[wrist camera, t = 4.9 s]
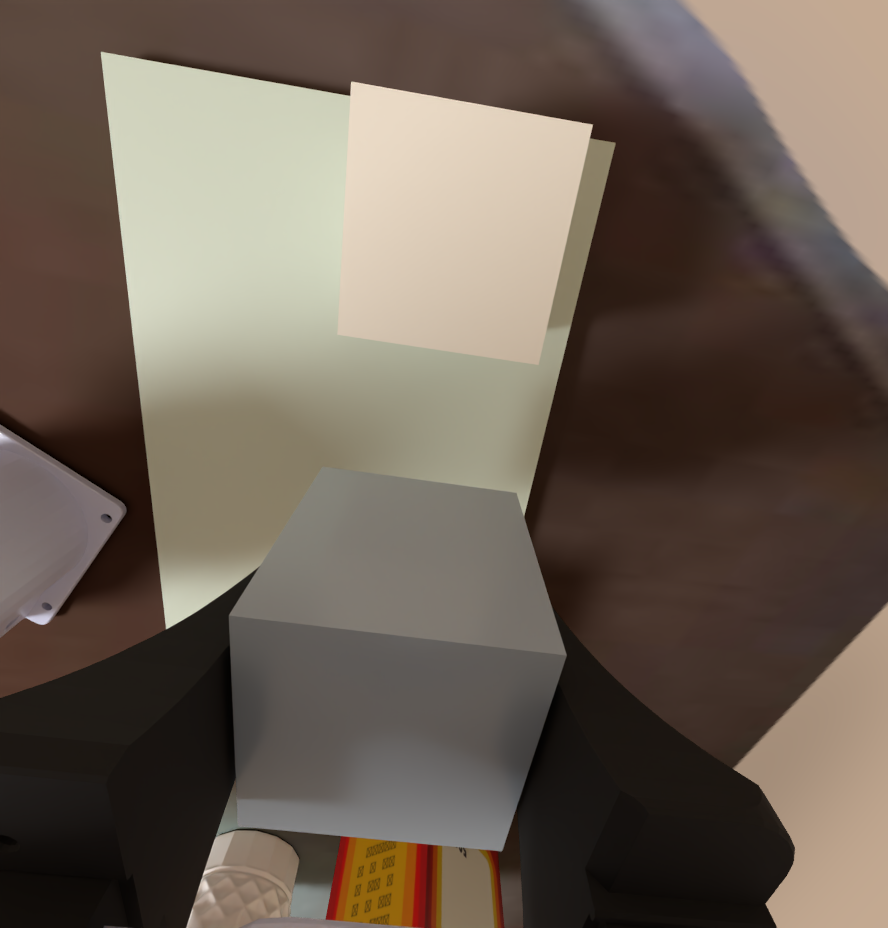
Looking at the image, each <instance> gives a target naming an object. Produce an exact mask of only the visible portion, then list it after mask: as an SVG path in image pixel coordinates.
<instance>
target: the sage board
mask: <svg viewBox="0 0 888 928" xmlns="http://www.w3.org/2000/svg"><path fill="white" fill-rule="evenodd" d="M101 58H102V67H103V75H104V84H105V93H106V102H107V111H108V120H109V128H110V137H111V146H112V155H113V164H114V172H115V181H116V190H117V199H118V208H119V216H120V225H121V234H122V243H123V252H124V261H125V269H126V278H127V287H128V296H129V305H130V313H131V322H132V331H133V340H134V349H135V357H136V366H137V375H138V384H139V393H140V402H141V410H142V419H143V428H144V437H145V446H146V454H147V463H148V472H149V481H150V490H151V498H152V507H153V516H154V525H155V534H156V542H157V551H158V560H159V569H160V578H161V587H162V595H163V604H164V613H165V622H166V629H168V628H170V627H171V626H173V625H175V624H177V623H178V622H180V621H182V620H184V619H185V618H187V617H189V616H190V615H192V614H194V613H195V612H197V611H198V610H200V609H201V608H203V607H204V606H206V605H207V604H209V603H210V602H212V601H213V600H215V599H216V598H218V597H219V596H221V595H222V594H223V593H225V592H226V591H228V590H229V589H230V588H232V587H233V586H234V585H236V584H237V583H238V582H240V581H241V580H242V579H244V578H245V577H246V576H248V575H249V574H250V573H252V572H253V571H254V570H255V569H257V568H258V567H259V566H260V565H261V564H262V562H263V560H264V559H265V557H266V556H267V554H268V552H269V551H270V549H271V548H272V546H273V544H274V543H275V541H276V540H277V538H278V537H279V535H280V533H281V532H282V530H283V529H284V527H285V525H286V524H287V522H288V521H289V519H290V518H291V516H292V514H293V513H294V511H295V510H296V508H297V506H298V505H299V503H300V502H301V500H302V499H303V497H304V495H305V494H306V492H307V491H308V489H309V487H310V486H311V484H312V483H313V481H314V479H315V478H316V476H317V475H318V473H319V472H320V470H321V468H322V467H330V468H337V469H345V470H352V471H359V472H367V473H374V474H381V475H389V476H396V477H404V478H411V479H418V480H426V481H433V482H440V483H448V484H455V485H462V486H470V487H477V488H485V489H492V490H499V491H507V492H514V493H517V496H518V500H519V503H520V506H521V509H522V512H523V516H524V515H525V511H526V507H527V503H528V499H529V495H530V490H531V486H532V482H533V478H534V474H535V470H536V466H537V462H538V458H539V454H540V450H541V446H542V441H543V437H544V433H545V429H546V425H547V421H548V417H549V413H550V409H551V405H552V401H553V397H554V393H555V388H556V384H557V380H558V376H559V372H560V368H561V364H562V360H563V356H564V352H565V348H566V344H567V339H568V335H569V331H570V327H571V323H572V319H573V315H574V311H575V307H576V303H577V299H578V295H579V291H580V286H581V282H582V278H583V274H584V270H585V266H586V262H587V258H588V254H589V250H590V246H591V242H592V237H593V233H594V229H595V225H596V221H597V217H598V213H599V209H600V205H601V201H602V197H603V193H604V188H605V184H606V180H607V176H608V172H609V168H610V164H611V160H612V156H613V152H614V148H615V144H616V143H613V142H607V141H601V140H596V139H590V140H589V144H588V149H587V153H586V157H585V162H584V166H583V171H582V175H581V180H580V184H579V188H578V193H577V197H576V202H575V206H574V211H573V215H572V219H571V224H570V228H569V233H568V237H567V242H566V246H565V250H564V255H563V259H562V264H561V268H560V273H559V277H558V281H557V286H556V290H555V295H554V299H553V304H552V308H551V312H550V317H549V321H548V326H547V330H546V334H545V339H544V343H543V348H542V352H541V357H540V361H539V365H535V364H529V363H522V362H515V361H509V360H502V359H495V358H489V357H482V356H475V355H469V354H462V353H455V352H449V351H442V350H435V349H429V348H422V347H415V346H409V345H402V344H395V343H389V342H382V341H375V340H369V339H362V338H355V337H349V336H342V335H337V332H338V313H339V295H340V277H341V258H342V240H343V222H344V204H345V185H346V167H347V149H348V131H349V112H350V96H347V95H341V94H336V93H330V92H324V91H319V90H313V89H307V88H302V87H296V86H290V85H285V84H279V83H273V82H268V81H262V80H256V79H251V78H245V77H240V76H234V75H228V74H223V73H217V72H211V71H206V70H200V69H194V68H189V67H183V66H177V65H172V64H166V63H160V62H155V61H149V60H143V59H138V58H132V57H126V56H121V55H115V54H109V53H104V52H101Z"/></svg>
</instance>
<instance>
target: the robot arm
mask: <svg viewBox="0 0 888 928" xmlns="http://www.w3.org/2000/svg"><path fill="white" fill-rule="evenodd" d="M126 511H127V510H126V506H125V505H124V504H123V503H122V502H121V501H120V500H118V499H117V498H115V497H113V496H112V495H110V494H109V493H107V492H106V491H104V490H102V489H101V488H99V487H98V486H96V485H95V484H93V483H91V482H90V481H88V480H87V479H85V478H84V477H82V476H80V475H79V474H77V473H76V472H74V471H72V470H71V469H69V468H68V467H66V466H65V465H63V464H61V463H60V462H58V461H57V460H55V459H54V458H52V457H50V456H49V455H47V454H46V453H44V452H43V451H41V450H39V449H38V448H36V447H35V446H33V445H32V444H30V443H28V442H27V441H25V440H24V439H22V438H21V437H19V436H17V435H16V434H14V433H13V432H11V431H10V430H8V429H6V428H5V427H3V426H2V425H0V638H1V637H2V636H3V635H4V634H5V633H7V632H8V631H9V630H10V629H11V628H13V627H14V626H15V625H16V624H17V623H19V622H20V621H21V620H22V619H24V618H25V617H26V618H28V619H29V620H31V621H33V622H35V623H37V624H42V625H44V624H47V623H48V622H50V621H51V620H52V619H53V618H54V617H55V615H56V614H57V612H58V611H59V609H60V608H61V607H62V605H63V604H64V602H65V601H66V599H67V598H68V596H69V595H70V594H71V592H72V591H73V589H74V588H75V586H76V585H77V583H78V582H79V581H80V579H81V578H82V576H83V575H84V573H85V572H86V570H87V569H88V568H89V566H90V565H91V563H92V562H93V560H94V559H95V557H96V556H97V555H98V553H99V552H100V550H101V549H102V547H103V546H104V544H105V543H106V542H107V540H108V539H109V537H110V536H111V534H112V533H113V532H114V530H115V529H116V527H117V526H118V524H119V523H120V521H121V520H122V519H123V517H124V516H125V514H126ZM107 514H108V515H110V516H111V518H112V519H111V518H109V517H108V516H107ZM259 567H260V566H259ZM259 567H258V568H259ZM258 568H257V569H255V570H254V571H253V572H252V573H250V574H249V575H248V576H246V577H245V578H244V579H242V580H241V581H240V582H238V583H237V584H236V585H234V586H233V587H232V588H230V589H229V590H228V591H226V592H225V593H223V594H222V595H221V596H219V597H218V598H216V599H215V600H213V601H212V602H210V603H209V604H207V605H206V606H204V607H203V608H201V609H200V610H198V611H197V612H195V613H194V614H192V615H190V616H189V617H187V618H185V619H184V620H182V621H180V622H178V623H177V624H175V625H173V626H171V627H170V628H168V629H166V630H164V631H162V632H161V633H159V634H157V635H155V636H153V637H151V638H149V639H147V640H145V641H143V642H141V643H138V644H136V645H134V646H132V647H130V648H128V649H126V650H124V651H122V652H120V653H118V654H116V655H114V656H111V657H109V658H107V659H104V660H102V661H100V662H97V663H95V664H93V665H90V666H88V667H86V668H83V669H81V670H78V671H75V672H73V673H70V674H68V675H65V676H63V677H60V678H58V679H55V680H52V681H49V682H47V683H44V684H41V685H38V686H35V687H32V688H29V689H26V690H23V691H20V692H17V693H14V694H11V695H8V696H5V697H3V698H0V928H186V927H187V924H188V921H189V918H190V914H191V911H192V908H193V905H194V902H195V898H196V895H197V892H198V889H199V886H200V882H201V879H202V876H203V873H204V870H205V867H206V864H207V861H208V858H209V855H210V852H211V849H212V846H213V843H214V840H215V837H216V834H217V831H218V828H219V825H220V822H221V819H222V816H223V813H224V810H225V807H226V804H227V801H228V799H229V796H230V793H231V790H232V787H233V784H234V781H235V778H236V769H235V747H234V724H233V701H232V679H231V656H230V633H229V614H230V613H231V611H232V609H233V608H234V606H235V605H236V603H237V602H238V600H239V598H240V597H241V595H242V594H243V592H244V590H245V589H246V587H247V586H248V584H249V583H250V581H251V579H252V578H253V576H254V575H255V573H256V571H257V570H258ZM552 609H553V613H554V616H555V619H556V622H557V625H558V629H559V632H560V635H561V638H562V642H563V645H564V648H565V651H566V655H567V656H566V659H565V662H564V665H563V668H562V671H561V674H560V677H559V681H558V684H557V687H556V690H555V693H554V696H553V699H552V702H551V705H550V708H549V711H548V714H547V717H546V720H545V723H544V726H543V729H542V732H541V735H540V738H539V741H538V744H537V747H536V750H535V753H534V756H533V759H532V762H531V765H530V768H529V771H528V774H527V777H526V780H525V783H524V786H523V789H522V792H521V795H520V798H519V802H518V805H517V814H518V829H519V844H520V861H521V881H522V901H523V925H524V928H776V924H775V923H774V921H773V918H772V916H771V914H770V912H769V910H768V908H767V906H766V904H765V903H766V902H767V901H768V899H769V898H770V897H771V895H772V894H773V893H774V892H775V890H776V889H777V888H778V886H779V885H780V884H781V882H782V881H783V880H784V879H785V877H786V876H787V874H788V872H789V870H790V869H791V867H792V865H793V861H794V851H795V847H794V845H793V843H792V840H791V838H790V836H789V834H788V833H787V831H786V829H785V828H784V826H783V825H782V823H781V821H780V819H779V818H778V817H777V814H776V813H775V811H774V810H773V808H772V806H771V804H770V803H769V801H768V800H767V798H766V796H765V795H764V793H763V792H762V790H761V789H760V787H759V786H758V785H757V784H755V783H754V782H752V781H751V780H749V779H748V778H746V777H744V776H743V775H741V774H740V773H738V772H737V771H735V770H733V769H732V768H730V767H729V766H727V765H726V764H724V763H722V762H721V761H719V760H718V759H716V758H715V757H713V756H711V755H710V754H709V753H707V752H706V751H704V750H703V749H701V748H700V747H699V746H697V745H696V744H694V743H693V742H692V741H690V740H689V739H687V738H686V737H685V736H683V735H682V734H680V733H679V732H678V731H676V730H675V729H674V728H673V727H671V726H670V725H669V724H667V723H666V722H665V721H663V720H662V719H661V718H660V717H658V716H657V715H656V714H655V713H654V712H652V711H651V710H650V709H649V708H648V707H646V706H645V705H644V704H643V703H642V702H640V701H639V700H638V699H637V698H636V697H635V696H633V695H632V694H631V693H630V692H629V691H628V690H627V689H626V688H625V687H624V686H623V685H621V684H620V683H619V682H618V681H617V680H616V679H615V678H614V677H613V676H612V675H611V674H610V673H609V672H608V671H607V670H606V669H605V668H604V667H603V666H602V665H601V664H600V663H599V662H598V661H597V660H596V659H595V658H594V656H593V655H592V654H591V653H590V652H589V651H588V650H587V649H586V648H585V646H584V645H583V644H582V643H581V642H580V641H579V640H578V638H577V637H576V636H575V635H574V634H573V633H572V631H571V630H570V629H569V628H568V626H567V625H566V624H565V623H564V621H563V620H562V619H561V618H560V616H559V615H558V614H557V612H556V611H555V610H554V608H553V607H552ZM239 928H416V927H405V926H393V925H381V924H369V923H358V922H346V921H334V920H322V919H311V918H299V917H280V918H262V919H257V920H255V921H253V922H251V923H248V924H246V925H244V926H242V927H239Z"/></svg>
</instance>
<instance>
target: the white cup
mask: <svg viewBox="0 0 888 928" xmlns="http://www.w3.org/2000/svg"><path fill="white" fill-rule="evenodd" d="M298 865H299V858H298V856H297V854H296V852H295V851H294V849H293V847H292V846H291V845H289V844H288V843H286V842H285V841H283V840H282V839H280V838H278V837H277V836H274V835H270V834H268V833H263V832H260V831H251V830H236V831H232V832H229V833H225V834H222V835H219V836H217V837H216V838H215V840H214V843H213V846H212V849H211V852H210V855H209V858H208V861H207V864H206V867H205V870H204V873H203V876H202V879H201V882H200V886H199V889H198V892H197V895H196V898H195V902H194V905H193V908H192V911H191V914H190V918H189V921H188V924H187V927H186V928H239V927H242V926H244V925H246V924H248V923H251V922H253V921H255V920H257V919H262V918H280V917H290V914H291V910H290V905H291V901H292V893H293V889H294V884H295V879H296V875H297V870H298Z"/></svg>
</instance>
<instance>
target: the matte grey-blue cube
mask: <svg viewBox="0 0 888 928" xmlns="http://www.w3.org/2000/svg"><path fill="white" fill-rule="evenodd" d="M229 633H230V656H231V679H232V701H233V724H234V747H235V769H236V792H237V815H238V826H242V827H252V828H263V829H273V830H284V831H294V832H305V833H315V834H326V835H336V836H346V837H357V838H367V839H378V840H388V841H399V842H409V843H420V844H430V845H441V846H451V847H462V848H472V849H483V850H493V851H502V850H503V847H504V844H505V841H506V838H507V835H508V832H509V829H510V826H511V823H512V820H513V817H514V814H515V811H516V808H517V805H518V802H519V798H520V795H521V792H522V789H523V786H524V783H525V780H526V777H527V774H528V771H529V768H530V765H531V762H532V759H533V756H534V753H535V750H536V747H537V744H538V741H539V738H540V735H541V732H542V729H543V726H544V723H545V720H546V717H547V714H548V711H549V708H550V705H551V702H552V699H553V696H554V693H555V690H556V687H557V684H558V681H559V677H560V674H561V671H562V668H563V665H564V662H565V659H566V656H567V655H566V651H565V648H564V645H563V642H562V638H561V635H560V632H559V629H558V625H557V622H556V619H555V616H554V613H553V609H552V606H551V603H550V600H549V596H548V593H547V590H546V587H545V583H544V580H543V577H542V574H541V571H540V567H539V564H538V561H537V558H536V554H535V551H534V548H533V545H532V542H531V538H530V535H529V532H528V529H527V525H526V522H525V519H524V516H523V512H522V509H521V506H520V503H519V500H518V496H517V493H514V492H507V491H499V490H492V489H485V488H477V487H470V486H462V485H455V484H448V483H440V482H433V481H426V480H418V479H411V478H404V477H396V476H389V475H381V474H374V473H367V472H359V471H352V470H345V469H337V468H330V467H322V468H321V470H320V472H319V473H318V475H317V476H316V478H315V479H314V481H313V483H312V484H311V486H310V487H309V489H308V491H307V492H306V494H305V495H304V497H303V499H302V500H301V502H300V503H299V505H298V506H297V508H296V510H295V511H294V513H293V514H292V516H291V518H290V519H289V521H288V522H287V524H286V525H285V527H284V529H283V530H282V532H281V533H280V535H279V537H278V538H277V540H276V541H275V543H274V544H273V546H272V548H271V549H270V551H269V552H268V554H267V556H266V557H265V559H264V560H263V562H262V564H261V565H260V567H259V568H258V570H257V571H256V573H255V575H254V576H253V578H252V579H251V581H250V583H249V584H248V586H247V587H246V589H245V590H244V592H243V594H242V595H241V597H240V598H239V600H238V602H237V603H236V605H235V606H234V608H233V609H232V611H231V613H230V614H229Z"/></svg>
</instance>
